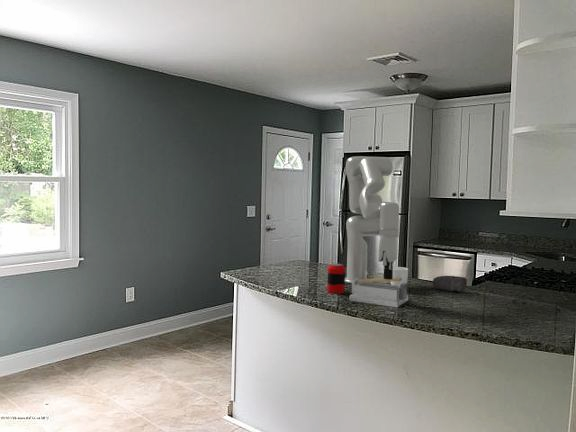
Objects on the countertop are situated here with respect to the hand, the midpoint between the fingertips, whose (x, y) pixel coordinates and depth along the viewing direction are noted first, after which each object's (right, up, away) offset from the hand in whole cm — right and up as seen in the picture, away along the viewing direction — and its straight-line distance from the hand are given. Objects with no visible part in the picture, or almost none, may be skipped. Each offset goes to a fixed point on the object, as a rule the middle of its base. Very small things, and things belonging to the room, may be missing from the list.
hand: (388, 278), depth 198 cm
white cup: (+9, -8, +23) cm, 26 cm away
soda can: (-19, -8, +17) cm, 27 cm away
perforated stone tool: (+32, -9, +25) cm, 41 cm away
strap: (-3, -1, +3) cm, 5 cm away
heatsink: (-3, -9, +3) cm, 10 cm away
